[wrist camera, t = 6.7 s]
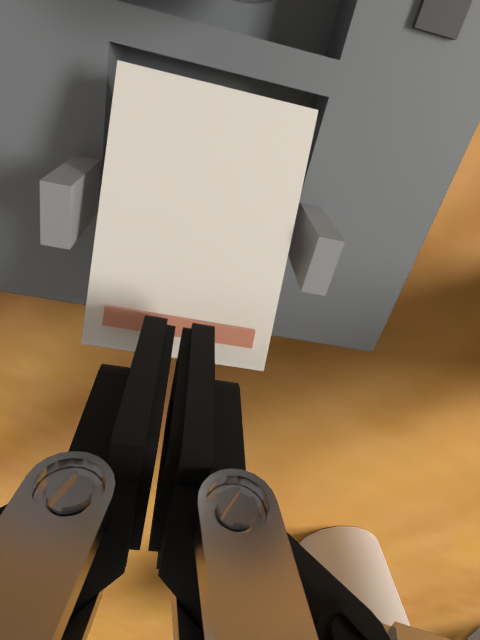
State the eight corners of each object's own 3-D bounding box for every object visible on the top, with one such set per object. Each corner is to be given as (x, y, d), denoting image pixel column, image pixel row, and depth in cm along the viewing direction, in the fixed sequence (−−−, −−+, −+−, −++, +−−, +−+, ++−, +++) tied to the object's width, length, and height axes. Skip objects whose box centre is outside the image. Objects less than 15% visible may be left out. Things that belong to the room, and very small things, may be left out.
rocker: (124, 77, 11) (116, 56, 10) (306, 121, 12) (321, 107, 11) (90, 333, 13) (79, 346, 11) (257, 358, 13) (265, 373, 12)
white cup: (310, 514, 27) (353, 727, 18) (403, 530, 28) (484, 736, 20) (272, 571, 30) (294, 775, 22) (357, 583, 31) (410, 780, 23)
